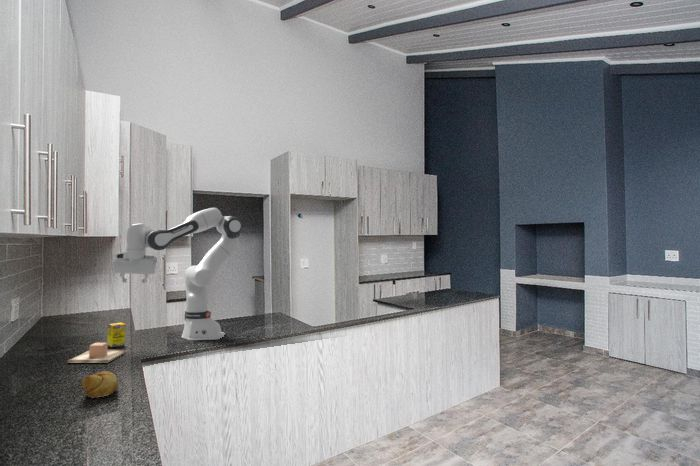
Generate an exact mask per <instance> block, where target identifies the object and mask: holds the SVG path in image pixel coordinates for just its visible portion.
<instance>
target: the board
mask: <svg viewBox="0 0 700 466" xmlns="http://www.w3.org/2000/svg"><path fill="white" fill-rule="evenodd" d="M126 351H127V350H126V349H107V354H106V355H104V356H102V357H89V349H88V350H87V351H85V352H83V353H81V354H78V355H77V356H75V357H72V358H71V359H70V358H69V359H67V364H68V363H108V362H110V361H112V360H113V361H115V360H116V359H115V358H117V357H118V358H120V357H122V356H123V355H125V354H126V353H127V352H126ZM124 353H125V354H124ZM122 354H123V355H122ZM121 355H122V356H121ZM119 356H120V357H119ZM118 358H117V359H118ZM114 359H115V360H114ZM113 361H112V362H113ZM110 363H111V362H110ZM108 364H109V363H108Z"/></svg>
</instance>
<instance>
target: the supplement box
mask: <svg viewBox="0 0 700 466" xmlns="http://www.w3.org/2000/svg"><path fill="white" fill-rule="evenodd" d="M126 326H127V325H126V323H123V322H114V323H108V324H107V336H106V337H107V340H106V343H108V346H109V347H108V348H110V347H111V348H110V349H114V348H113V347H116V348H121V347H125V346H126V345H125V344H126V342H125V341H126V328H127V327H126Z"/></svg>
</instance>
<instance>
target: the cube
mask: <svg viewBox="0 0 700 466" xmlns="http://www.w3.org/2000/svg"><path fill="white" fill-rule="evenodd" d="M108 348H109V347H108V343H107V342H94V343H91V344H90V345H89V348H88V350H89V357H102V356H104V355H106V354H107V350H108Z"/></svg>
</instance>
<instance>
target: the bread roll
mask: <svg viewBox="0 0 700 466" xmlns="http://www.w3.org/2000/svg"><path fill="white" fill-rule="evenodd" d="M81 383H82V388H83V390H84V392H85V395H86V397H87V396H88V398H89V397H98V396H104V395H108V394H111V393H112V394H114V392H116V390H117V388H118V378H117V375H116V374H115V373H112V372H111V371H106V370H104V371H99V372H96V373H94V374H89V375H87V376H85V377H84V378H83V379H82V382H81ZM112 394H111V395H112Z"/></svg>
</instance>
